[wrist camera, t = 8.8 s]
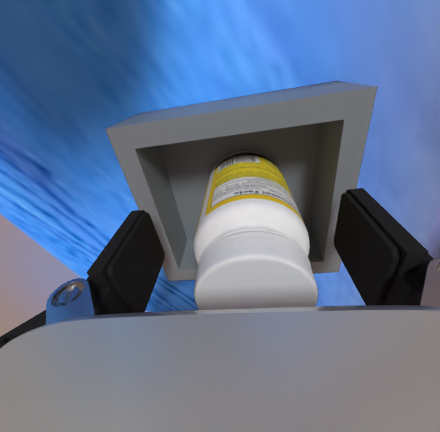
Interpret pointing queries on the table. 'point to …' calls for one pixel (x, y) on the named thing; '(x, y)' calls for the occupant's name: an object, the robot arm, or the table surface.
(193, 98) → the table surface
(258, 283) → the supplement bottle
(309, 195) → the bin
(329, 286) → the table surface
